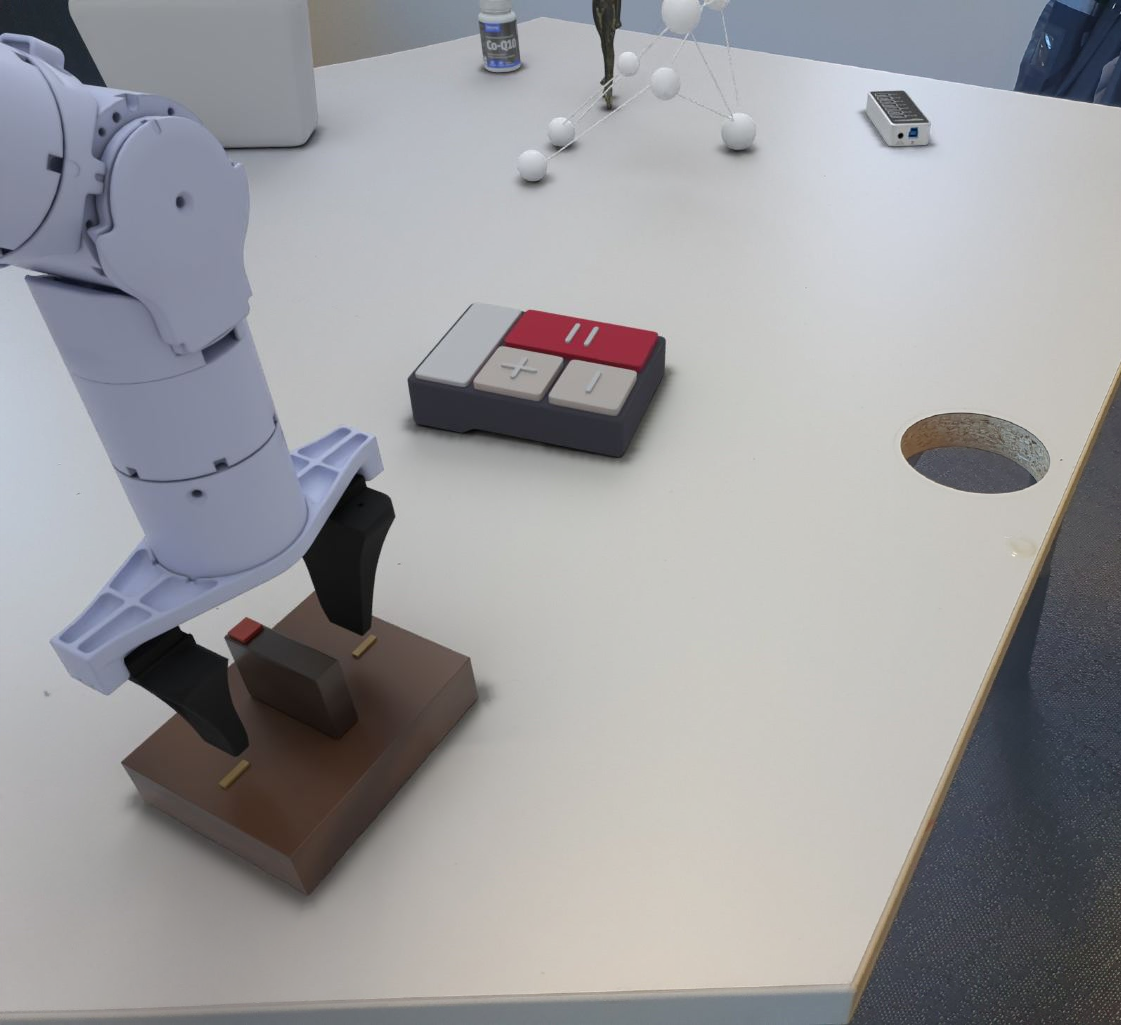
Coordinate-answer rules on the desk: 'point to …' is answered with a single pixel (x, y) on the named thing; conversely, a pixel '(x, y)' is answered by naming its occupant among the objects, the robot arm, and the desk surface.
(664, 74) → the molecule model
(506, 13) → the pill bottle
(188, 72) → the radio
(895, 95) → the multiport hub
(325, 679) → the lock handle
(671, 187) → the desk surface
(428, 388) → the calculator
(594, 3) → the statue
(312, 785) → the plate
